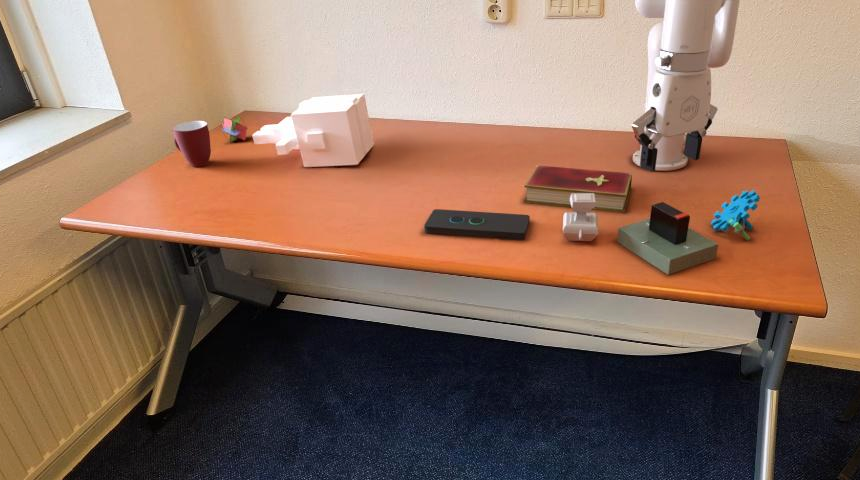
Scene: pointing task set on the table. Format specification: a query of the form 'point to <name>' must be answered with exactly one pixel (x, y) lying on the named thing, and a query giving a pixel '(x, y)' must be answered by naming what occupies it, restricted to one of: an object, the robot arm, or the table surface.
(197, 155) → the mug
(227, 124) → the geometric puzzle
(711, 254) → the green base plate
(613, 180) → the hardcover book
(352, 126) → the white voxel figure
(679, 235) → the black rectangular block
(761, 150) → the table surface
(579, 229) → the white square urn
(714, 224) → the blue splat shape
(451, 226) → the smart home device
